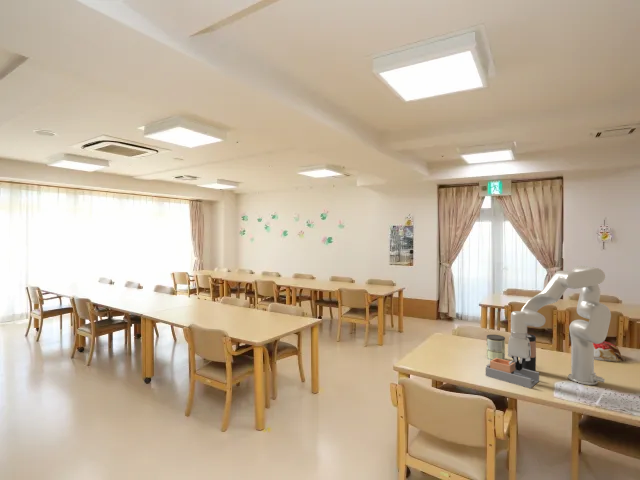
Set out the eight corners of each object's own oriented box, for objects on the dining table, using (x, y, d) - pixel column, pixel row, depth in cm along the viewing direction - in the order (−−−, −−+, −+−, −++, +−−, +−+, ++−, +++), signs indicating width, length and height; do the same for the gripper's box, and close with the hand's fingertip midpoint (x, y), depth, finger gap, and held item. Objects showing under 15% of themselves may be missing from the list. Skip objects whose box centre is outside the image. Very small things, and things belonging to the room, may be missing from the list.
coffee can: (484, 356, 224) (484, 334, 224) (501, 356, 223) (501, 334, 223) (490, 361, 214) (490, 338, 214) (508, 362, 213) (508, 339, 213)
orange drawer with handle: (515, 374, 190) (515, 359, 190) (510, 378, 184) (510, 363, 184) (495, 369, 197) (495, 354, 197) (490, 372, 192) (490, 358, 192)
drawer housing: (539, 381, 185) (539, 370, 185) (530, 388, 176) (530, 377, 176) (495, 369, 201) (495, 359, 201) (485, 375, 192) (485, 365, 192)
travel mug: (517, 369, 202) (517, 334, 202) (526, 367, 204) (526, 333, 204) (529, 374, 195) (529, 337, 195) (539, 372, 197) (539, 336, 197)
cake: (629, 365, 208) (629, 348, 208) (578, 358, 221) (578, 342, 221) (622, 354, 227) (622, 339, 227) (576, 348, 240) (576, 333, 240)
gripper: (537, 336, 183) (537, 371, 183) (506, 331, 194) (506, 364, 194) (532, 339, 178) (532, 375, 178) (501, 333, 189) (501, 367, 189)
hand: (518, 369), depth 186 cm, fingers closed
